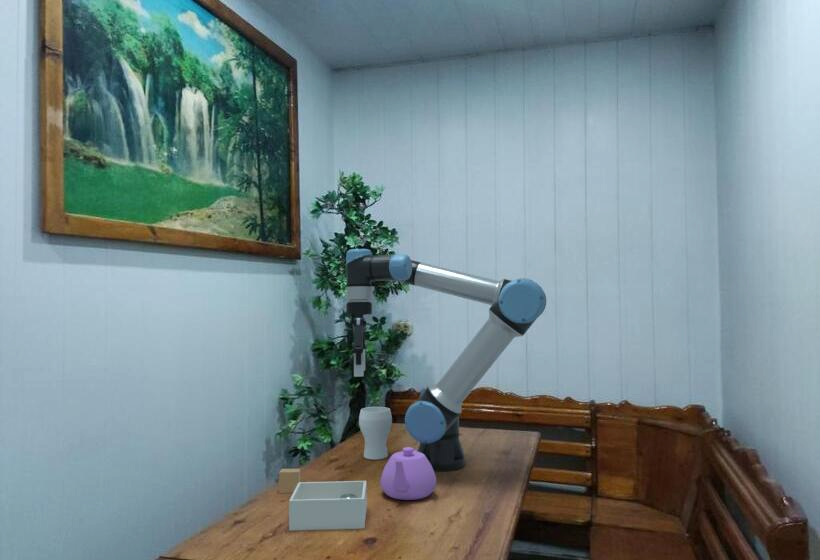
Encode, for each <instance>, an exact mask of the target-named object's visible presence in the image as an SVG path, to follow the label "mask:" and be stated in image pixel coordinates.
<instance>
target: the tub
mask: <svg viewBox="0 0 820 560" xmlns="http://www.w3.org/2000/svg"><path fill="white" fill-rule="evenodd" d="M367 483H368V482H367V480H348V481H347V480H345V481H341V480H340V481H339V480H338V481H306V482H305V481H303V482H302V481H301V482H299V483H298V485H297V487H296V488H295V490H294V492H293V493H291V494H292V495H291V496H290V498H289V502H288V529H289V531H290V532H292V531H293V532H294V531H321V530H323V531H325V530H328V531H329V530H359V529H363V530H364V529H365V525H366V518H367V517H366V515H367V507H368V505H367V502H368V501H367V493H368V490H367V488H368V487H367ZM344 494H354V495H356V498H340V497H341V496H342V495H344Z"/></svg>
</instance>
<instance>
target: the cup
mask: <svg viewBox="0 0 820 560" xmlns="http://www.w3.org/2000/svg"><path fill="white" fill-rule="evenodd" d="M392 424H393V417H392V412H391V408H389V407H384V406H369V407H364V408H361V409H360V412H359V417H358V425H359V428H360V432H361V434H362V435H363V438H364V450H363V451H364V452H363V458H365V459H367V460H383V459H386V458H388V457H389V453H388V448H387V440H388V435H389V433H390V431H391V428H392Z"/></svg>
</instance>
